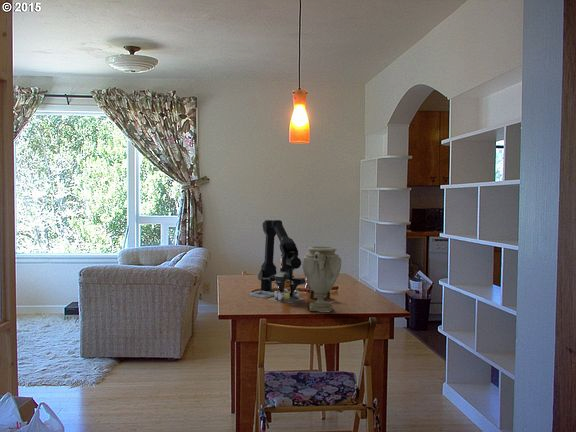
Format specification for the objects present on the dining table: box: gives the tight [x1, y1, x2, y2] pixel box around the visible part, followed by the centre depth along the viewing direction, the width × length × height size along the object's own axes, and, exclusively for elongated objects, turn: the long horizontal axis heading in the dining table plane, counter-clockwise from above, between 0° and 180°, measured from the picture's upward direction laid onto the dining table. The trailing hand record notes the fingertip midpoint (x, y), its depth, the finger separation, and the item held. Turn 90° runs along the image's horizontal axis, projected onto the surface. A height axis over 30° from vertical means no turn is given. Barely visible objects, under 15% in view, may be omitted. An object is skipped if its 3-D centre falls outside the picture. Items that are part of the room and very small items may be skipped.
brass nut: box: [282, 290, 292, 300], centre depth 286 cm, size 6×5×4 cm
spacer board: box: [267, 297, 305, 304], centre depth 286 cm, size 14×14×1 cm
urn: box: [301, 246, 342, 312], centre depth 266 cm, size 24×18×30 cm
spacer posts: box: [273, 288, 300, 302], centre depth 286 cm, size 14×10×4 cm
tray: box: [248, 290, 275, 299], centre depth 294 cm, size 10×10×2 cm
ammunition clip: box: [309, 288, 331, 300], centre depth 291 cm, size 11×2×12 cm, turn 103°
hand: (286, 296), depth 286 cm, fingers closed on brass nut, 5 cm apart
